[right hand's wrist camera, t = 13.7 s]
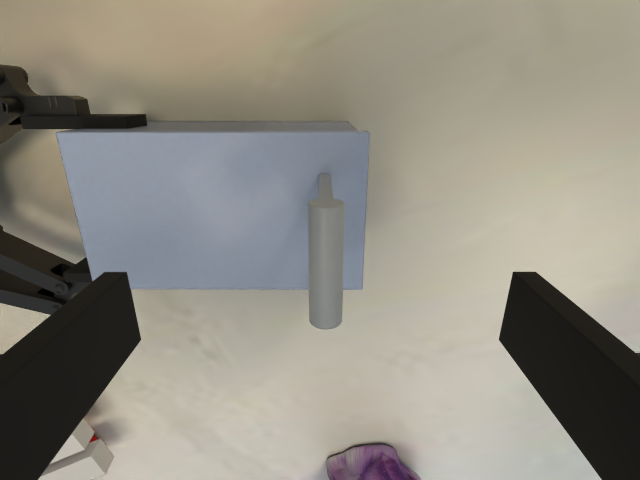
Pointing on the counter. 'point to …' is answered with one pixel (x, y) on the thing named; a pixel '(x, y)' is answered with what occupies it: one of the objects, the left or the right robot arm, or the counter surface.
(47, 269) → the left robot arm
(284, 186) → the lid
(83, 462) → the toy
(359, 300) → the counter surface
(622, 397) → the right robot arm
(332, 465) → the figurine
